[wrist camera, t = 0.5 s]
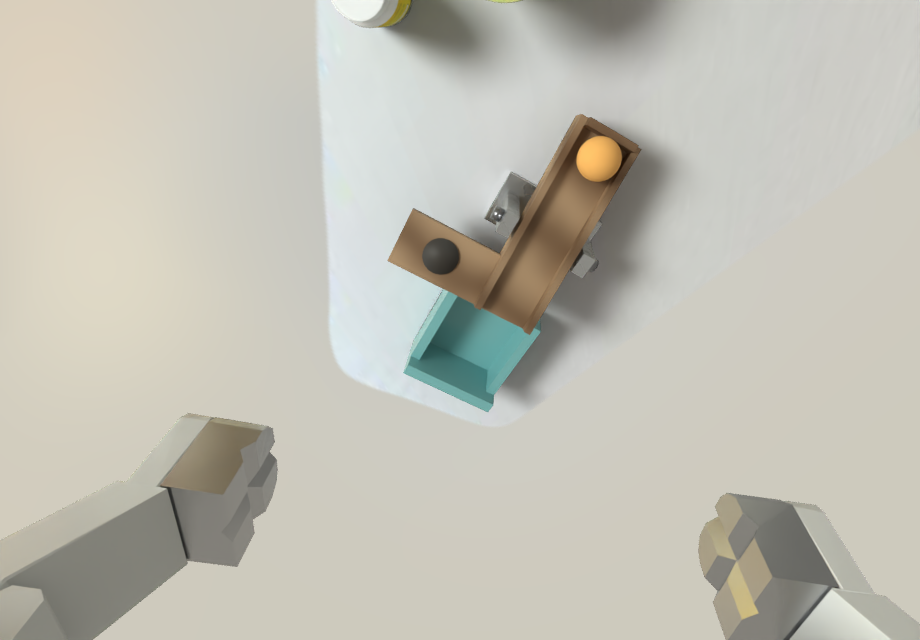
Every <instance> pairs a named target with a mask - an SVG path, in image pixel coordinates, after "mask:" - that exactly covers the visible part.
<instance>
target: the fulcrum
mask: <svg viewBox="0 0 920 640" xmlns="http://www.w3.org/2000/svg"><path fill="white" fill-rule="evenodd" d="M536 187H537V186H536V185H534V184H532V183H530V182H529V181H527V180H525V179H523V178H521V177H520V176H518V175H516V174H514V173H513V172H510V174H509V176H508V177H507V179H506V181H505V183H504V184H503V186H502V188H501V189H500V191H499V193H498V195H497V196H496V198H495V200H494V202H493V203H492V205H491V207H490V209H489V210H488V212H487V214H486V216H485V218H484V219H486V220H488V221H490V222H492V223H494V224H495V225H496V229H495V232H497V233H498V234H500V235H502V236H504V237H506V238H508V237H509V235H510V233H511V232H512V230H513V229H514V227H515V225H516V224H517V222H518V220H519V219H520V216H521V214H522V212H523V210H524V209H525V207H526V205H527V203H528V201H529V200H530V198H531V196H532V194H533V192H534V191H535V189H536ZM601 225H602V222H600V221H598V222H597V224H596V226H595V227H594V229H593V231H592V233H591V234H590V236H589V238H588V239H587V241H586V243H585V244H584V246H583V248H582V249H581V251H580V253H579V254H578V256H577V258H576V259H575V261H574V263H573V264H572V266H571V268H570V270H571V272H572V273H573V274H575V275H577V276H579V277H581V278H583V277H584V276H585V274H586V273H587V272H588V271H590V272H593V271H594V270H595V269H596V268H597V266H598V263H599V261H598V260H597V259H595V256H594V252H593V249H592V246H591V243H590V241H591V239H592V238H593V237H594V235H595V234H596V232H597V231H598V230H599V228H600V227H601Z"/></svg>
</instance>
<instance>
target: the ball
mask: <svg viewBox="0 0 920 640" xmlns="http://www.w3.org/2000/svg"><path fill="white" fill-rule="evenodd" d="M621 161H622V154H621V150H620V147H619V146H618V144H617V143H616V142H615V141H614V140H613V139H611V138H609V137H605V136H596V137H593V138H591V139H589V140H587V141H586V142H585V143H584V144H583V145H582V146H581V147H580V149H579V151H578V154H577V167H578V170H579V172H580V173H581V175H582V176H583V177H585V178H586V179H588V180H590V181H594V182H601V181H605V180H607V179H609V178H611V177H612V176H613V175H614V174H615V173H616V172H617V171H618V169H619V167H620V165H621Z"/></svg>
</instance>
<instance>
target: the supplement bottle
mask: <svg viewBox="0 0 920 640" xmlns="http://www.w3.org/2000/svg"><path fill="white" fill-rule="evenodd" d="M331 1H332V3H333V5H334V7H335V8H336V9H337V11H338V12H339V13H340V14H341V15H342V16H344V17H345V18H347V19H349V20H350V21H351V22H352V23H354V24H356V25H358V26H360V27H365V28H376V27H387V26H392V25H395V24H397V23H399V22H400V21H402V20H403V19H404V18H405V17H406V15H407V14H408V12H409V10H410V8H411V5H412V1H413V0H331Z"/></svg>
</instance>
